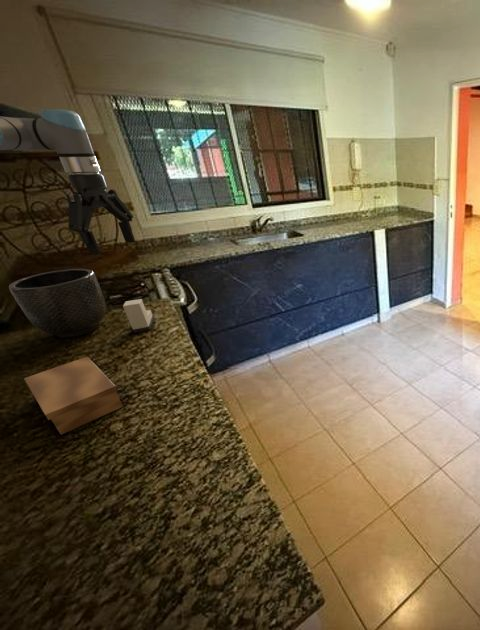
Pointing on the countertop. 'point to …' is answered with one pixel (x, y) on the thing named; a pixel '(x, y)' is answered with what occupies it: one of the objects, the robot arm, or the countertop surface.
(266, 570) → the countertop surface
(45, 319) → the planter
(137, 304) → the black-striped white block
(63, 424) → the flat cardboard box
